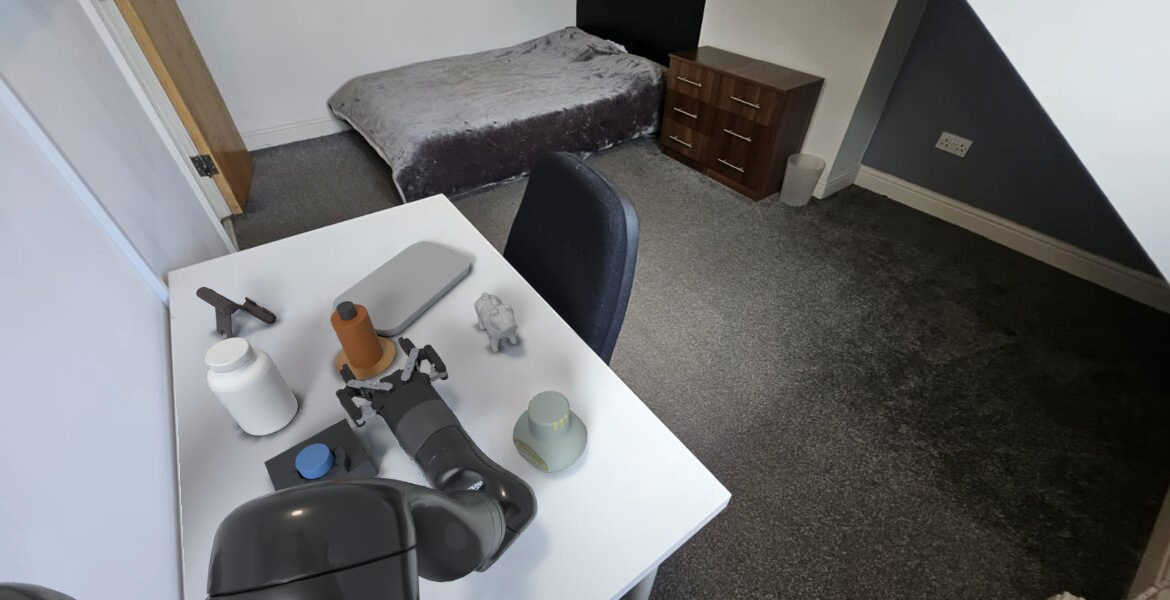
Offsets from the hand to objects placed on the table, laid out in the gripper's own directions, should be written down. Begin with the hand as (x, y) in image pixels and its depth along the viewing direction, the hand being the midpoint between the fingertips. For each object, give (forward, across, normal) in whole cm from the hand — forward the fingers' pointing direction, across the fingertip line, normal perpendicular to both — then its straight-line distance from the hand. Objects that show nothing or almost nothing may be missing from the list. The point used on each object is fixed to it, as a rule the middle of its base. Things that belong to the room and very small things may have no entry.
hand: (373, 354), depth 71 cm
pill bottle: (+8, +16, +10) cm, 20 cm away
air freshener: (-25, -14, +10) cm, 30 cm away
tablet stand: (+33, +14, +10) cm, 37 cm away
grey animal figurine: (-1, -21, +10) cm, 23 cm away
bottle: (+10, 0, +9) cm, 14 cm away
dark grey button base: (-8, +13, +10) cm, 18 cm away
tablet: (+23, -14, +10) cm, 29 cm away
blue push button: (-10, +13, +4) cm, 17 cm away
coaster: (+10, 0, +10) cm, 14 cm away
